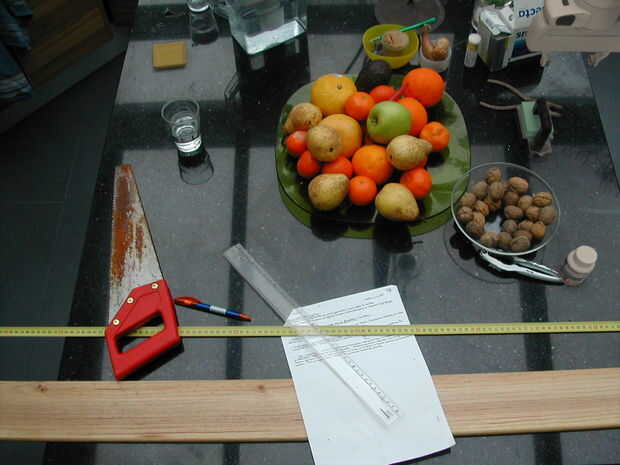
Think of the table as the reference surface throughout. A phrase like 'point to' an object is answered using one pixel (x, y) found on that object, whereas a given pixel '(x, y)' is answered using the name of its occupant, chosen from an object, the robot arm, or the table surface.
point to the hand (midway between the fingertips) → (567, 64)
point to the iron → (534, 129)
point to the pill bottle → (577, 265)
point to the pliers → (527, 99)
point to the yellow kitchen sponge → (169, 54)
